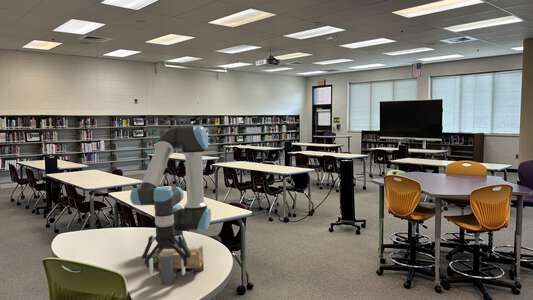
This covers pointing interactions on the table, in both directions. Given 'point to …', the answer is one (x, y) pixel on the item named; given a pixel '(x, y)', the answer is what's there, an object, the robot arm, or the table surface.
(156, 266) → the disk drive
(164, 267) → the grey rectangular block
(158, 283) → the table surface
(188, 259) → the cabinet
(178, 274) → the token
